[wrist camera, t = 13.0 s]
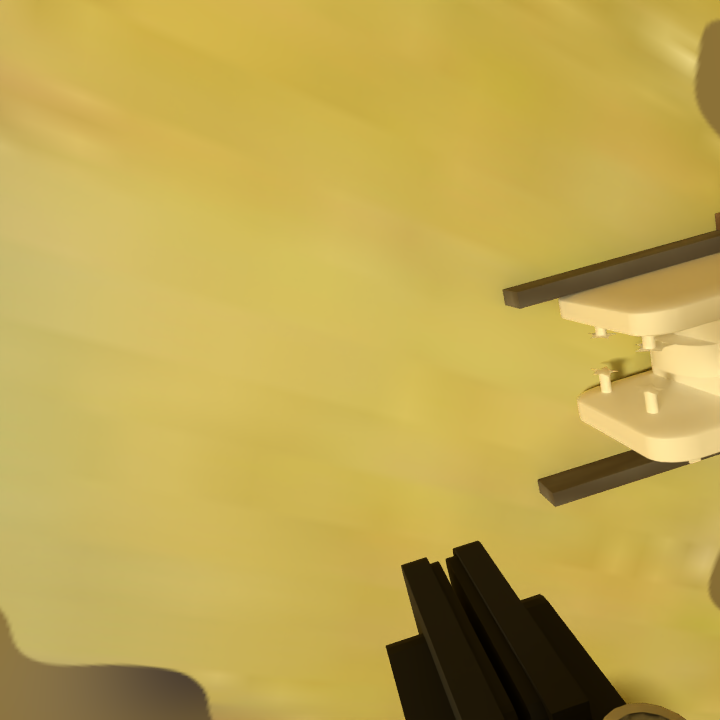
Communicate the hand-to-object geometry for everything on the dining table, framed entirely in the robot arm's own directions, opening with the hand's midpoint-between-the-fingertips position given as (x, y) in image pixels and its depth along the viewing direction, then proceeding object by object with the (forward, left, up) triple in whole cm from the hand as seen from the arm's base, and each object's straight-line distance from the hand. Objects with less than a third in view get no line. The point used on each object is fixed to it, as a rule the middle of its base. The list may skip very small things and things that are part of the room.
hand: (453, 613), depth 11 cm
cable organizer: (+6, +25, -29) cm, 39 cm away
